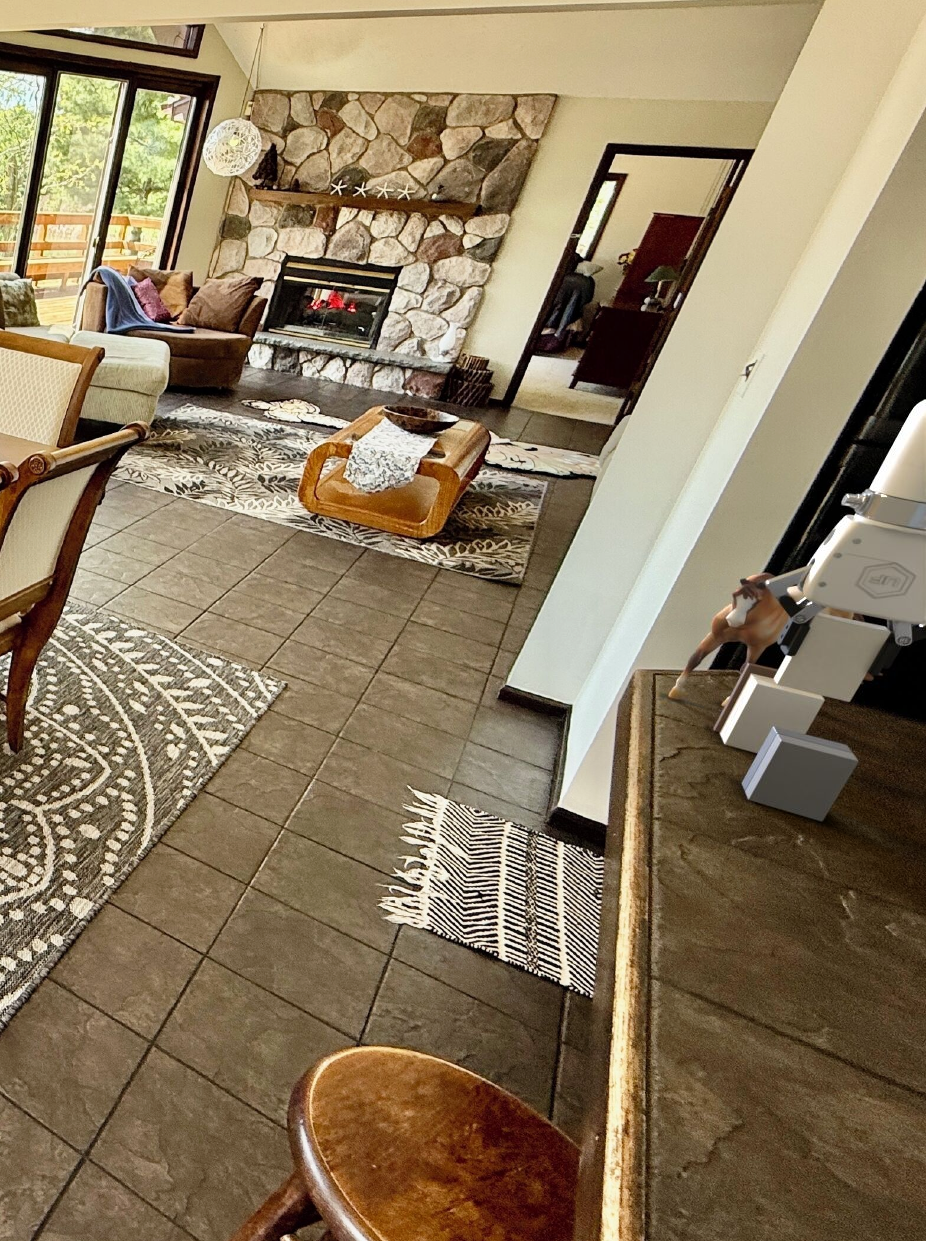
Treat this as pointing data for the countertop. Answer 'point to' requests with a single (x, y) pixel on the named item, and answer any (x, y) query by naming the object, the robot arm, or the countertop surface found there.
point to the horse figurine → (750, 625)
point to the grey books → (799, 773)
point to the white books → (764, 709)
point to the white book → (833, 657)
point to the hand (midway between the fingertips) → (827, 660)
